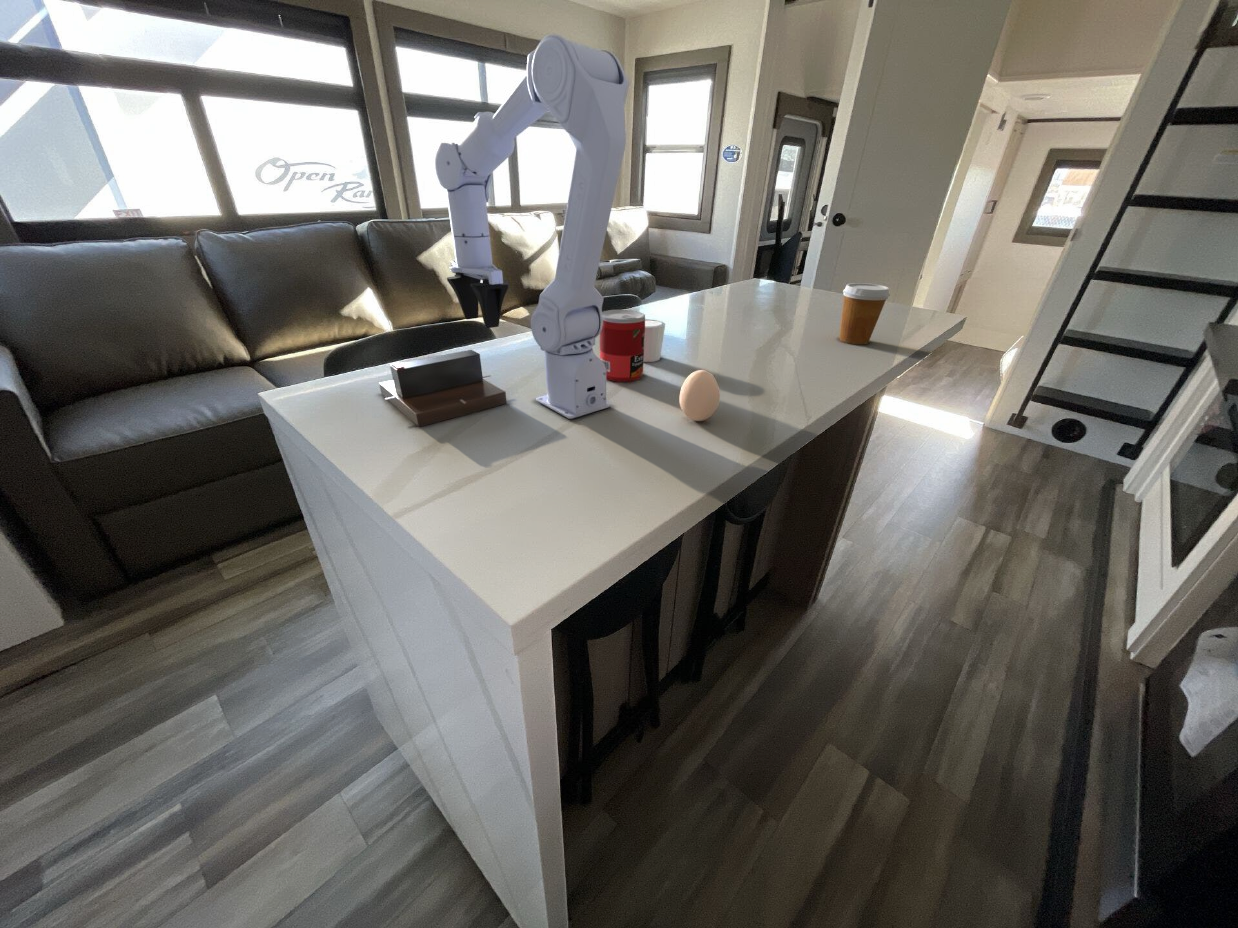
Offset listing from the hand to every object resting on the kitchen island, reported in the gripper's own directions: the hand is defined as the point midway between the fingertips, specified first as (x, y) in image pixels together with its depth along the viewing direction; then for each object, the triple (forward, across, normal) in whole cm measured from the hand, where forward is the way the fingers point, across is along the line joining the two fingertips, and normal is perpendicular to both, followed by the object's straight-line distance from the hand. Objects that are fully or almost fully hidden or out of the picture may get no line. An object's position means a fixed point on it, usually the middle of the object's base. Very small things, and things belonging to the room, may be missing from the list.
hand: (481, 322), depth 84 cm
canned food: (+10, +15, +19) cm, 26 cm away
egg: (+10, +37, +15) cm, 41 cm away
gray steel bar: (+7, +6, -11) cm, 15 cm away
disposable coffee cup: (+10, +30, +77) cm, 83 cm away
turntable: (+9, +6, -11) cm, 16 cm away
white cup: (+10, +10, +30) cm, 33 cm away
